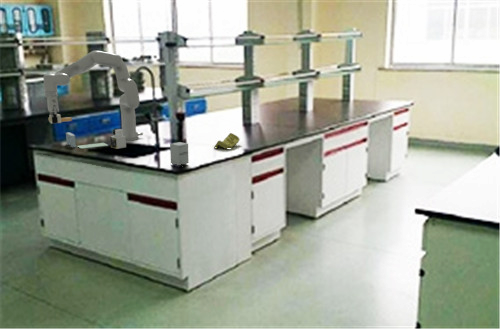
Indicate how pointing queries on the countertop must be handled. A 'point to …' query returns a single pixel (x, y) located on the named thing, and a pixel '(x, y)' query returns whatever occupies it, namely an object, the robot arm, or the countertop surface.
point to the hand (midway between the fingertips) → (54, 122)
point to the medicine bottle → (118, 139)
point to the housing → (70, 139)
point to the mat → (92, 145)
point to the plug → (59, 119)
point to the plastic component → (228, 141)
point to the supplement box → (179, 153)
